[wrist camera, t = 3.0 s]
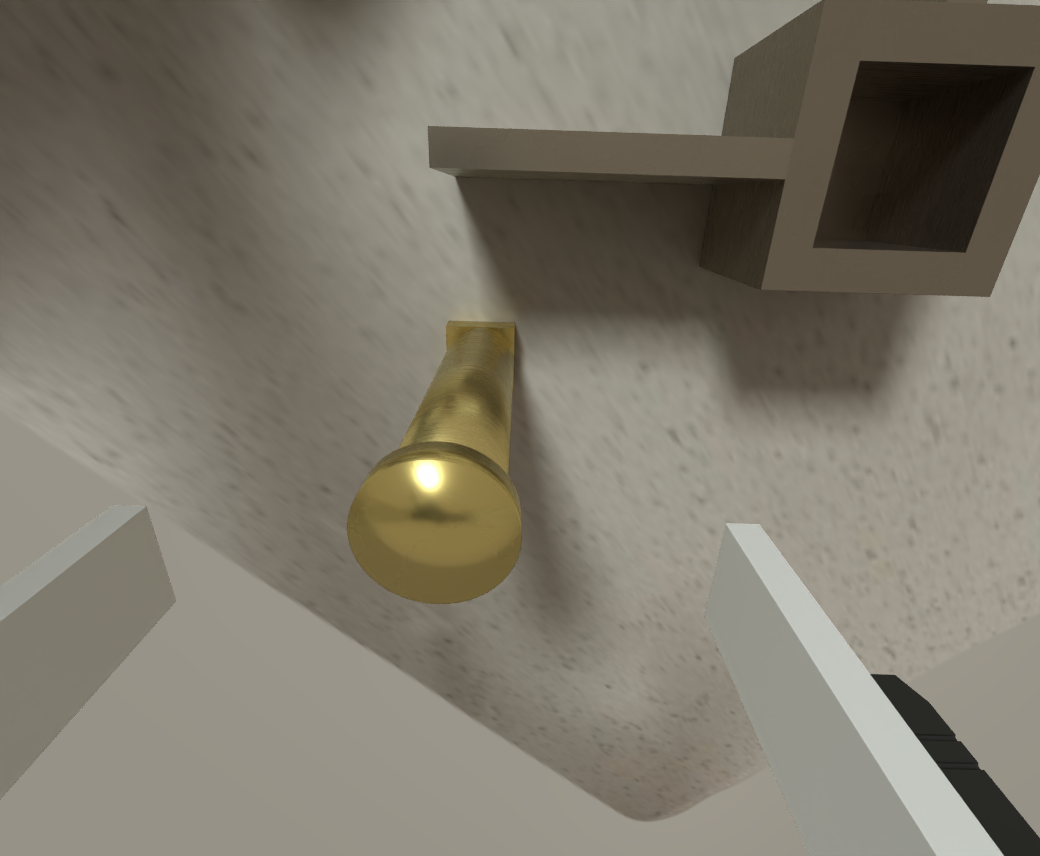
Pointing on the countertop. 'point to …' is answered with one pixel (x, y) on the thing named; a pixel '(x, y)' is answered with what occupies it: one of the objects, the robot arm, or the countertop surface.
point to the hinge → (836, 150)
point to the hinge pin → (447, 481)
